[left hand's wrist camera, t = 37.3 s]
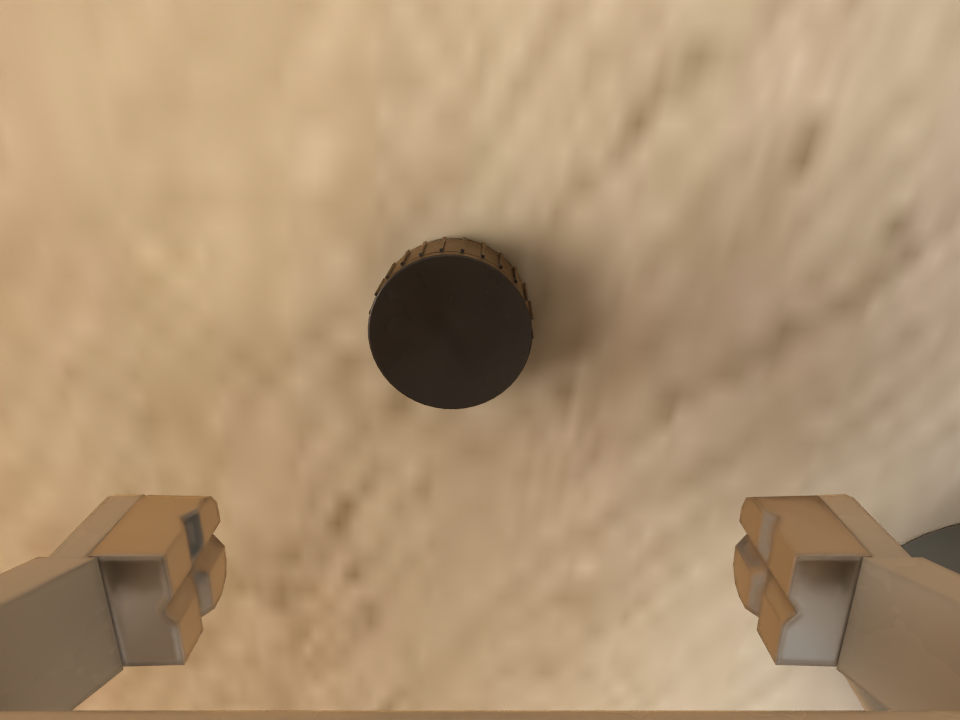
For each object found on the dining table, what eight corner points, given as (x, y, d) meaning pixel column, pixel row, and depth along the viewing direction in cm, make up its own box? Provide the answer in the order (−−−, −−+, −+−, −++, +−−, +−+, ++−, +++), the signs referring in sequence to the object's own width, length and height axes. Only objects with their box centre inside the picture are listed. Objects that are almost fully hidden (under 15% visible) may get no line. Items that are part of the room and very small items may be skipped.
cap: (366, 365, 19) (353, 393, 17) (390, 220, 17) (379, 234, 16) (510, 395, 19) (512, 425, 18) (547, 254, 18) (553, 273, 16)
